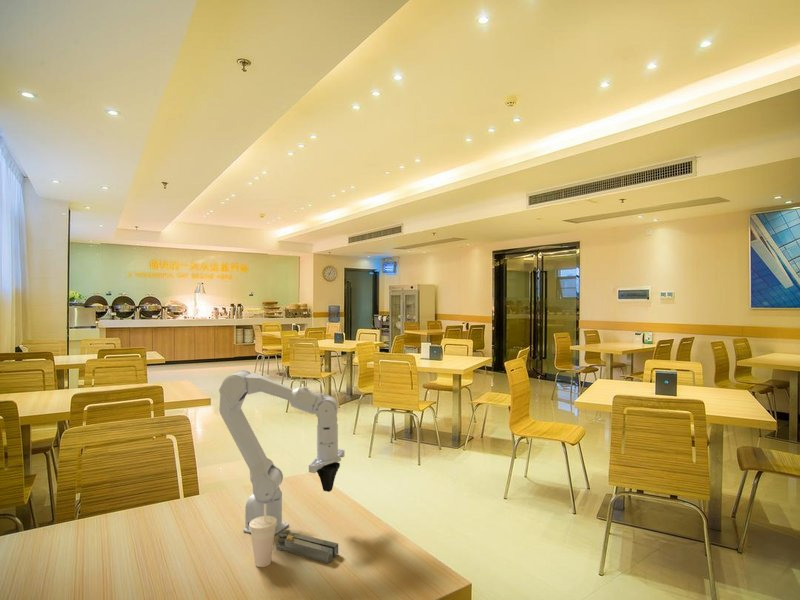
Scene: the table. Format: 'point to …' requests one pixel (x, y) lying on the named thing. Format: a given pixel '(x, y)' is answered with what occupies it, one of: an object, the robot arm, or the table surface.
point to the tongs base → (305, 549)
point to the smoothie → (263, 538)
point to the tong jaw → (311, 540)
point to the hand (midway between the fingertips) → (327, 490)
